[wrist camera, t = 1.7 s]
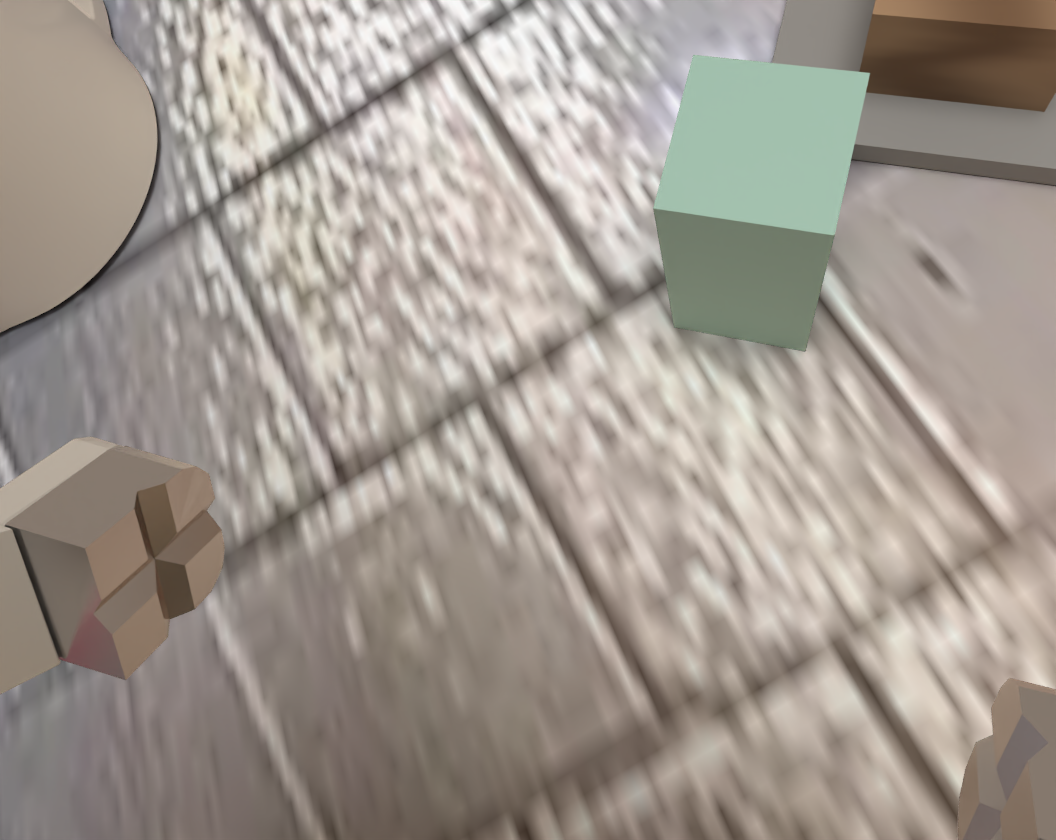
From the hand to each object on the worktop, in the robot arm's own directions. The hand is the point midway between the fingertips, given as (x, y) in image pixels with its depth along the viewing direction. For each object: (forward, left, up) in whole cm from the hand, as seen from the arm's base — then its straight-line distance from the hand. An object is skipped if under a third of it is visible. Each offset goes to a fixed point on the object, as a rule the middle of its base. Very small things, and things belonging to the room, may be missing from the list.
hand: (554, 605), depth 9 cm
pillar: (0, +12, -21) cm, 25 cm away
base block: (+5, +22, -20) cm, 30 cm away
